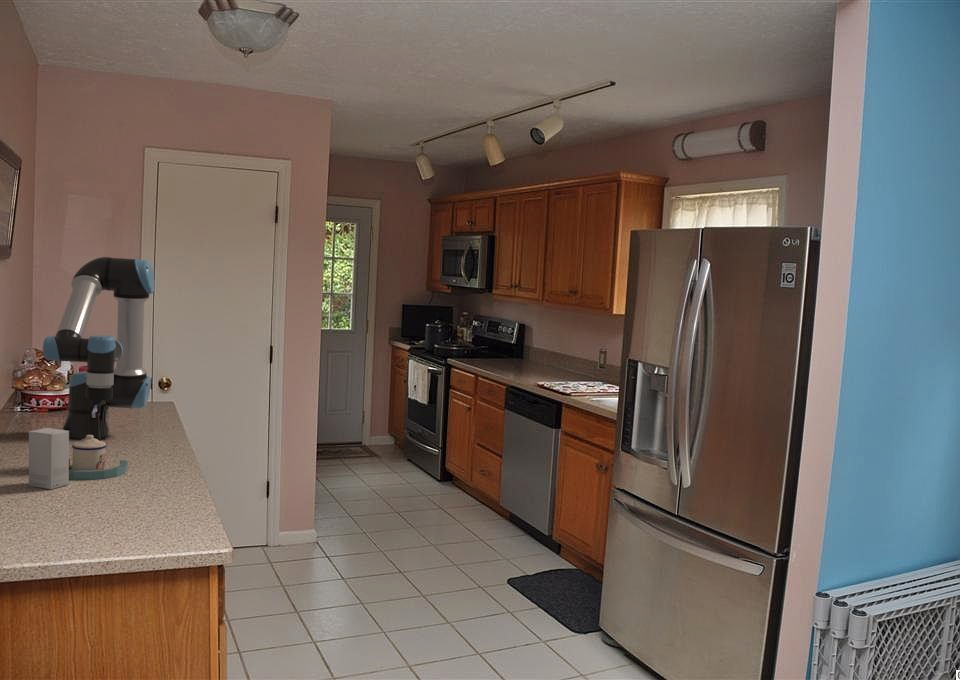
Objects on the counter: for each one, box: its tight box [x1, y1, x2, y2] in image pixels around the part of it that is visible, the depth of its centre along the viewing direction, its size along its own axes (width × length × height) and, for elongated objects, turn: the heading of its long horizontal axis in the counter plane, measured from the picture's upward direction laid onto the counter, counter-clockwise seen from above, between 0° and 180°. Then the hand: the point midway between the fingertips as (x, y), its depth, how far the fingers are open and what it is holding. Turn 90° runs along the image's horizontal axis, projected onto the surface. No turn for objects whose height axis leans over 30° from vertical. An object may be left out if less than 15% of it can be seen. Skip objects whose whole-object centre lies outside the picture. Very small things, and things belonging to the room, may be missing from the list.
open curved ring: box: [69, 458, 129, 481], centre depth 236 cm, size 16×20×2 cm
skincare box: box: [28, 427, 70, 490], centre depth 219 cm, size 8×7×16 cm
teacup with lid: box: [71, 435, 107, 470], centre depth 236 cm, size 12×9×12 cm
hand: (96, 461), depth 244 cm, fingers closed
